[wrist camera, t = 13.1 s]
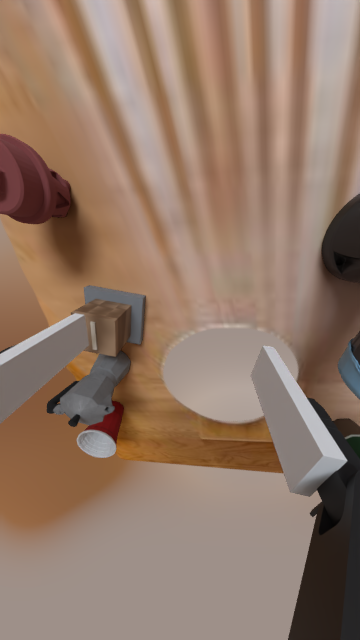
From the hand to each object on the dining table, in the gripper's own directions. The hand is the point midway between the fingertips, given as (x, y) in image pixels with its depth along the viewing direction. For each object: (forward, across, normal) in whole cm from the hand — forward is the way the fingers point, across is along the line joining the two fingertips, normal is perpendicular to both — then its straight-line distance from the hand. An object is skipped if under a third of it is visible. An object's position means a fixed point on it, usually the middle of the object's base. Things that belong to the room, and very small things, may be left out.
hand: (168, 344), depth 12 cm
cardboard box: (+22, -16, -11) cm, 30 cm away
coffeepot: (+24, -19, -26) cm, 40 cm away
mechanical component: (+24, -27, +12) cm, 38 cm away
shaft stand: (+24, -17, -11) cm, 31 cm away
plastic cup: (+24, -19, -45) cm, 54 cm away
